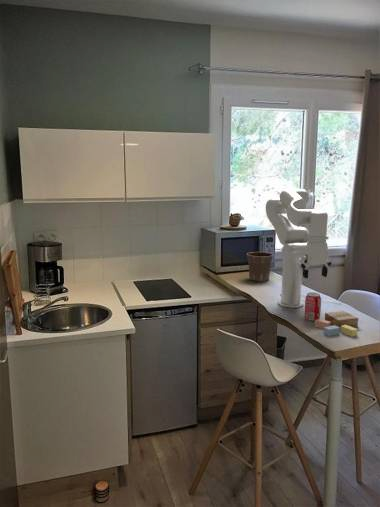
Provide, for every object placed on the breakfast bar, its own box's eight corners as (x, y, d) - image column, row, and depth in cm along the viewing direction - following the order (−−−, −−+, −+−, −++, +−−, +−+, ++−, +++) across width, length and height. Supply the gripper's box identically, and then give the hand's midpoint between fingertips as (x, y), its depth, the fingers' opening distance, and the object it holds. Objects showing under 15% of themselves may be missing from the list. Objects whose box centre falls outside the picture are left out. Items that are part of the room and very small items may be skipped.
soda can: (317, 316, 208) (318, 292, 206) (322, 322, 201) (323, 296, 199) (302, 316, 208) (303, 292, 205) (306, 322, 201) (308, 296, 199)
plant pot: (241, 277, 282) (242, 252, 279) (264, 275, 286) (265, 250, 283) (252, 283, 266) (253, 257, 263) (276, 281, 271) (278, 255, 268)
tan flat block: (324, 321, 202) (325, 312, 201) (343, 319, 205) (344, 311, 204) (337, 329, 192) (338, 320, 192) (357, 326, 195) (358, 318, 195)
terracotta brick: (314, 326, 196) (315, 320, 195) (317, 324, 198) (318, 318, 197) (327, 330, 192) (327, 323, 191) (330, 328, 194) (331, 321, 193)
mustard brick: (340, 332, 189) (340, 325, 188) (345, 331, 190) (345, 324, 190) (352, 337, 184) (352, 330, 183) (356, 335, 185) (357, 328, 185)
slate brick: (328, 336, 184) (329, 329, 184) (323, 334, 187) (323, 327, 186) (339, 334, 187) (340, 327, 186) (334, 331, 190) (334, 325, 189)
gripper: (329, 237, 203) (326, 273, 207) (295, 239, 198) (293, 276, 201) (339, 240, 196) (336, 277, 199) (304, 241, 191) (302, 280, 194)
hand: (314, 277), depth 200 cm, fingers open, 9 cm apart
